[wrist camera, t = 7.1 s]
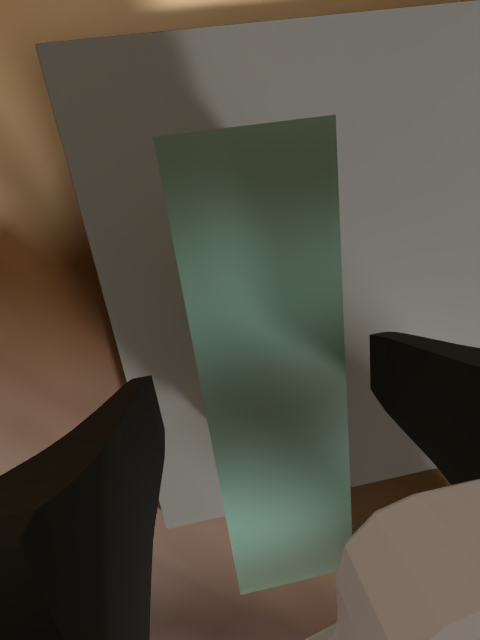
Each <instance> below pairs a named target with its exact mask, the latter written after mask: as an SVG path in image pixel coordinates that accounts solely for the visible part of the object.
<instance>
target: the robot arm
mask: <svg viewBox="0 0 480 640" xmlns="http://www.w3.org/2000/svg"><path fill="white" fill-rule="evenodd" d="M369 340H370V389H371V391H372V392H373V394H374V395H375V397H376V398H377V400H378V401H379V403H380V404H381V406H382V407H383V408H384V410H385V411H386V412H387V414H388V415H389V416H390V417H391V418H392V419H393V420H394V421H395V422H396V423H397V425H398V426H399V427H400V428H401V429H402V430H403V431H404V432H405V433H406V434H407V435H408V436H409V437H410V439H411V440H412V441H413V442H414V443H415V444H416V445H417V446H418V447H419V448H420V449H421V450H422V451H423V452H424V453H425V455H426V456H427V457H428V458H429V459H430V460H431V461H432V462H433V463H434V464H435V465H436V467H437V468H438V469H439V470H440V471H441V472H442V474H443V475H444V476H445V477H446V479H447V480H448V481H449V483H450V484H451V485H450V486H446V487H442V488H437V489H433V490H429V491H424V492H420V493H416V494H412V495H410V496H408V497H405V498H403V499H401V500H399V501H396V502H394V503H392V504H390V505H388V506H385V507H383V508H381V509H379V510H376V511H375V512H374V513H373V514H372V515H371V516H370V517H369V518H368V519H367V520H366V521H365V522H364V523H363V524H362V526H361V527H360V528H359V529H358V530H357V531H356V532H355V533H354V534H353V535H352V536H351V537H350V538H349V539H348V541H347V543H346V544H345V547H344V550H343V554H342V558H341V561H340V565H339V569H338V572H337V576H336V594H337V609H338V615H337V623H336V624H334V625H332V626H330V627H328V628H326V629H324V630H322V631H320V632H318V633H316V634H314V635H313V636H311V637H309V638H307V639H305V640H480V348H477V347H471V346H465V345H460V344H455V343H450V342H445V341H440V340H435V339H430V338H426V337H421V336H416V335H411V334H405V333H399V332H388V331H387V332H381V333H376V334H370V335H369ZM164 459H165V428H164V424H163V420H162V416H161V411H160V407H159V403H158V399H157V395H156V391H155V387H154V383H153V379H152V375H149V376H144V377H138V378H133V379H131V380H129V381H128V382H127V383H126V384H125V385H123V386H122V387H121V388H120V389H119V390H118V391H117V392H116V393H115V394H114V395H113V396H111V397H110V398H109V399H108V400H107V401H106V402H105V403H104V404H103V405H102V406H101V407H99V408H98V409H97V410H96V411H95V412H94V413H92V414H91V415H90V416H89V417H88V418H86V419H85V420H84V421H83V422H82V423H80V424H79V425H78V426H77V427H75V428H74V429H73V430H72V431H70V432H69V433H68V434H66V435H65V436H64V437H62V438H61V439H59V440H58V441H56V442H55V443H54V444H52V445H51V446H49V447H48V448H46V449H45V450H43V451H42V452H40V453H39V454H37V455H35V456H34V457H32V458H30V459H28V460H27V461H25V462H23V463H22V464H20V465H18V466H16V467H15V468H13V469H11V470H10V471H8V472H6V473H5V474H3V475H1V476H0V640H149V633H150V597H151V571H152V550H153V536H154V527H155V519H156V513H157V506H158V500H159V493H160V487H161V480H162V473H163V467H164Z"/></svg>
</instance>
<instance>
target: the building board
mask: <svg viewBox="0 0 480 640" xmlns="http://www.w3.org/2000/svg"><path fill="white" fill-rule="evenodd" d="M35 46H36V50H37V53H38V57H39V61H40V64H41V68H42V72H43V75H44V79H45V83H46V86H47V90H48V94H49V97H50V101H51V105H52V109H53V112H54V116H55V120H56V123H57V127H58V131H59V134H60V138H61V142H62V145H63V149H64V153H65V156H66V160H67V164H68V167H69V171H70V175H71V178H72V182H73V186H74V189H75V193H76V197H77V200H78V204H79V208H80V211H81V215H82V219H83V222H84V226H85V230H86V234H87V237H88V241H89V245H90V248H91V252H92V256H93V259H94V263H95V267H96V270H97V274H98V278H99V281H100V285H101V289H102V292H103V296H104V300H105V303H106V307H107V311H108V314H109V318H110V322H111V325H112V329H113V333H114V336H115V340H116V344H117V347H118V351H119V355H120V359H121V362H122V366H123V370H124V373H125V377H126V381H127V382H128V381H129V380H131V379H133V378H138V377H144V376H149V375H152V379H153V383H154V387H155V391H156V395H157V399H158V403H159V407H160V411H161V416H162V420H163V424H164V428H165V459H164V467H163V473H162V480H161V487H160V493H159V502H160V506H161V509H162V513H163V517H164V520H165V524H166V528H167V529H169V528H174V527H178V526H183V525H187V524H192V523H196V522H200V521H205V520H209V519H214V518H218V517H223V516H226V515H225V510H224V505H223V500H222V495H221V489H220V484H219V479H218V474H217V469H216V463H215V458H214V453H213V448H212V443H211V437H210V432H209V427H208V422H207V416H206V411H205V406H204V401H203V396H202V390H201V385H200V380H199V375H198V370H197V364H196V359H195V354H194V349H193V344H192V338H191V333H190V328H189V323H188V317H187V312H186V307H185V302H184V297H183V291H182V286H181V281H180V276H179V271H178V265H177V260H176V255H175V250H174V245H173V239H172V234H171V229H170V224H169V218H168V213H167V208H166V203H165V198H164V192H163V187H162V182H161V177H160V172H159V166H158V161H157V156H156V151H155V145H154V140H153V137H155V136H163V135H172V134H180V133H188V132H196V131H204V130H213V129H221V128H229V127H237V126H245V125H254V124H262V123H270V122H278V121H286V120H295V119H303V118H311V117H319V116H328V115H336V135H337V160H338V185H339V211H340V236H341V262H342V287H343V312H344V338H345V363H346V389H347V414H348V440H349V465H350V488H351V487H355V486H360V485H364V484H369V483H373V482H377V481H382V480H386V479H391V478H395V477H400V476H404V475H408V474H413V473H417V472H422V471H426V470H431V469H435V468H437V467H436V465H435V464H434V463H433V462H432V461H431V460H430V459H429V458H428V457H427V456H426V455H425V453H424V452H423V451H422V450H421V449H420V448H419V447H418V446H417V445H416V444H415V443H414V442H413V441H412V440H411V439H410V437H409V436H408V435H407V434H406V433H405V432H404V431H403V430H402V429H401V428H400V427H399V426H398V425H397V423H396V422H395V421H394V420H393V419H392V418H391V417H390V416H389V415H388V414H387V412H386V411H385V410H384V408H383V407H382V406H381V404H380V403H379V401H378V400H377V398H376V397H375V395H374V394H373V392H372V391H371V389H370V340H369V335H370V334H376V333H381V332H387V331H388V332H399V333H405V334H411V335H416V336H421V337H426V338H430V339H435V340H440V341H445V342H450V343H455V344H460V345H465V346H471V347H477V348H480V0H474V1H464V2H454V3H444V4H434V5H424V6H414V7H403V8H393V9H383V10H373V11H363V12H353V13H343V14H333V15H323V16H313V17H302V18H292V19H282V20H272V21H262V22H252V23H242V24H232V25H222V26H212V27H201V28H191V29H181V30H171V31H161V32H151V33H141V34H131V35H121V36H111V37H101V38H90V39H80V40H70V41H60V42H50V43H40V44H35Z"/></svg>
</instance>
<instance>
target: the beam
mask: <svg viewBox="0 0 480 640" xmlns="http://www.w3.org/2000/svg"><path fill="white" fill-rule="evenodd" d="M153 140H154V145H155V151H156V156H157V161H158V166H159V172H160V177H161V182H162V187H163V192H164V198H165V203H166V208H167V213H168V218H169V224H170V229H171V234H172V239H173V245H174V250H175V255H176V260H177V265H178V271H179V276H180V281H181V286H182V291H183V297H184V302H185V307H186V312H187V317H188V323H189V328H190V333H191V338H192V344H193V349H194V354H195V359H196V364H197V370H198V375H199V380H200V385H201V390H202V396H203V401H204V406H205V411H206V416H207V422H208V427H209V432H210V437H211V443H212V448H213V453H214V458H215V463H216V469H217V474H218V479H219V484H220V489H221V495H222V500H223V505H224V510H225V515H226V521H227V526H228V531H229V536H230V542H231V547H232V552H233V557H234V562H235V568H236V573H237V578H238V583H239V588H240V594H241V595H243V594H247V593H251V592H255V591H259V590H263V589H267V588H272V587H276V586H280V585H284V584H288V583H292V582H296V581H300V580H304V579H308V578H312V577H316V576H321V575H325V574H329V573H333V572H337V571H338V569H339V565H340V561H341V558H342V554H343V550H344V547H345V544H346V543H347V541H348V539H349V538H350V537H351V536H352V516H351V490H350V465H349V440H348V414H347V389H346V363H345V338H344V312H343V287H342V262H341V236H340V211H339V185H338V160H337V135H336V115H328V116H319V117H311V118H303V119H295V120H286V121H278V122H270V123H262V124H254V125H245V126H237V127H229V128H221V129H213V130H204V131H196V132H188V133H180V134H172V135H163V136H155V137H153Z"/></svg>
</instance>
